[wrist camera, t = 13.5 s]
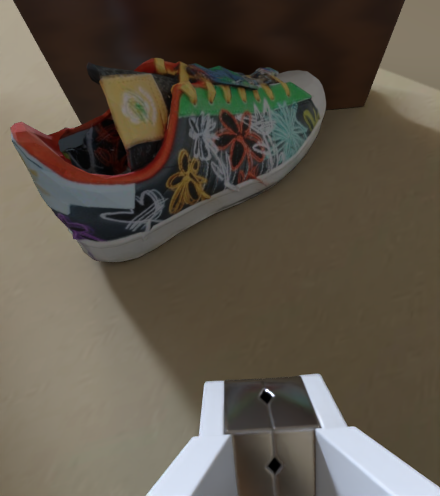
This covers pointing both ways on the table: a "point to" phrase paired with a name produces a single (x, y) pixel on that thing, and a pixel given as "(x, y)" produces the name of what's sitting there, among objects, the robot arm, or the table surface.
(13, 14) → the table surface
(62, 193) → the sneaker
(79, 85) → the wooden wall shelf
